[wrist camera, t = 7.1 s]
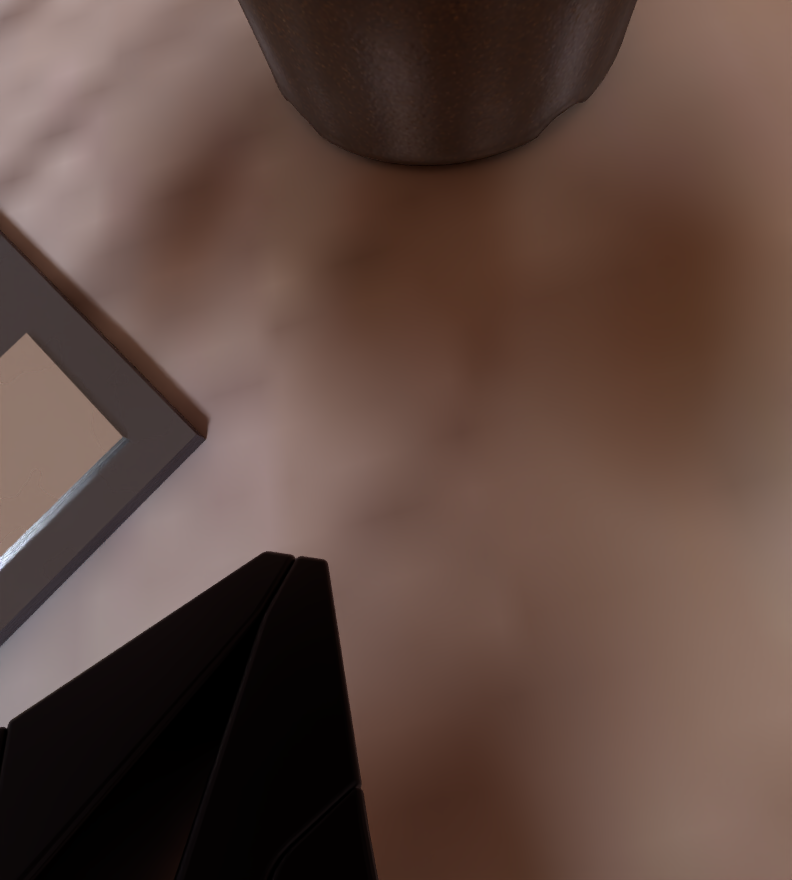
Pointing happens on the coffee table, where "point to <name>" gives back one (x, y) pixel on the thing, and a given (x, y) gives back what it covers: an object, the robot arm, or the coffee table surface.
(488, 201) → the coffee table surface
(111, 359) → the panel
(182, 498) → the coffee table surface
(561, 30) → the plant pot
